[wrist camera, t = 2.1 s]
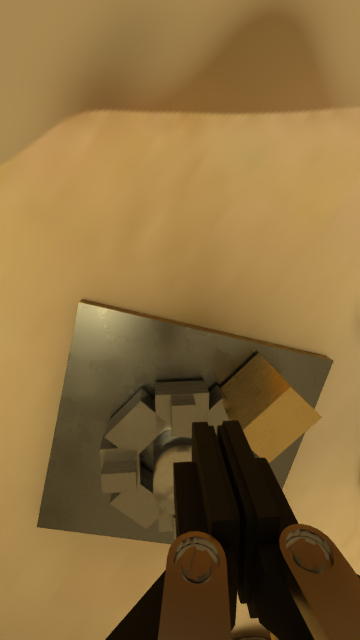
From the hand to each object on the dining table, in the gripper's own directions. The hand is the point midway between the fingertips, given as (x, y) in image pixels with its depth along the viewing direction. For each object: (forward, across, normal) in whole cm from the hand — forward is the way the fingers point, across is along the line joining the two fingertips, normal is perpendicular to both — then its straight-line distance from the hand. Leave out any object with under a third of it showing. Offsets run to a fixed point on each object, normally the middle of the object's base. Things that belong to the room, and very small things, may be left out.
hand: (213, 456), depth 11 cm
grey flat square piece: (+13, 0, +9) cm, 16 cm away
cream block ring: (+12, -1, +8) cm, 14 cm away
